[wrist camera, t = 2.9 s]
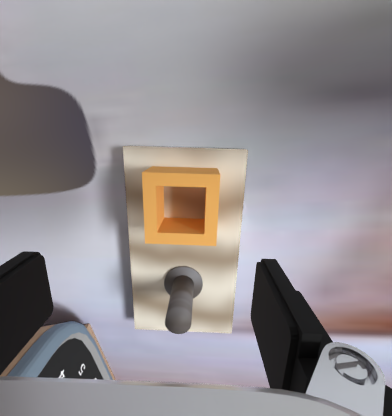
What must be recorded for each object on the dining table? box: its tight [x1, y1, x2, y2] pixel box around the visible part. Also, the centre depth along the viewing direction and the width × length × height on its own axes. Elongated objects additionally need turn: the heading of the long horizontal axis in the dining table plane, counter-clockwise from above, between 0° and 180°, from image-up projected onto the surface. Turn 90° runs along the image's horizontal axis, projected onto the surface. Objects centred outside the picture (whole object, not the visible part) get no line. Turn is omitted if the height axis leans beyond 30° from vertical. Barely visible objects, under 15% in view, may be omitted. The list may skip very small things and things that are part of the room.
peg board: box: [123, 146, 248, 334], centre depth 23 cm, size 22×12×8 cm, turn 179°
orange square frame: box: [142, 166, 220, 246], centre depth 21 cm, size 6×6×4 cm
